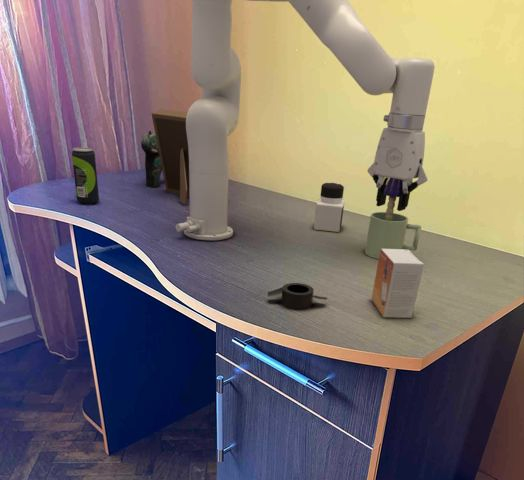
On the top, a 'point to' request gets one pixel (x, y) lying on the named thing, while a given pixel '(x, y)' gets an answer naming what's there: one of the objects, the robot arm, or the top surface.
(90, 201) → the beverage can
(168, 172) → the photo frame
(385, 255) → the small box
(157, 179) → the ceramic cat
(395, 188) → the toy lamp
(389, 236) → the mug
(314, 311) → the top surface
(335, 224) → the medicine bottle
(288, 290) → the black ring with tabs
